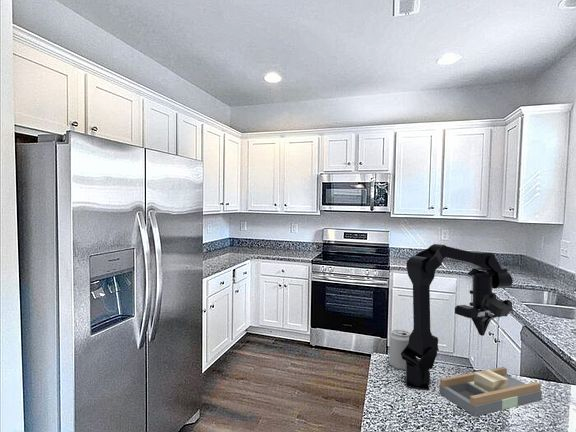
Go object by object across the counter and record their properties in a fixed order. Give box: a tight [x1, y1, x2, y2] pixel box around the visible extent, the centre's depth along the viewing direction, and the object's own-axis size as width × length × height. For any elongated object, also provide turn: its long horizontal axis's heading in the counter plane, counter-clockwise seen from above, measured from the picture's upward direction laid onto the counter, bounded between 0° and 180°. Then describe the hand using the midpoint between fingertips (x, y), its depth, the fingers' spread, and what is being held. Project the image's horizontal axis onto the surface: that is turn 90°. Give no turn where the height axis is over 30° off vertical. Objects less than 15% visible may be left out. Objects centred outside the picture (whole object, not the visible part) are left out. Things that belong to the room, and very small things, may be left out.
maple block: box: [474, 369, 508, 392], centre depth 96 cm, size 6×6×4 cm
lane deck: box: [438, 366, 543, 417], centre depth 96 cm, size 26×12×4 cm, turn 110°
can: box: [388, 329, 411, 371], centre depth 115 cm, size 8×8×12 cm
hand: (481, 335), depth 111 cm, fingers closed
